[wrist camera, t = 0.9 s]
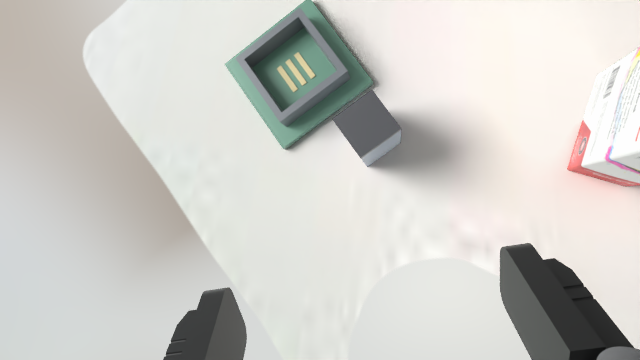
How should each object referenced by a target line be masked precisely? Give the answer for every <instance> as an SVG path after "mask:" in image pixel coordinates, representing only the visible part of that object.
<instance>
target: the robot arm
mask: <svg viewBox="0 0 640 360" xmlns="http://www.w3.org/2000/svg"><path fill="white" fill-rule="evenodd" d="M500 292H501V297H502V301H503V304H504V306H505V309H506V311H507V313H508V314H509V316H510V319H511V320H512V322H513V324H514V326H515V328H516V330H517V332H518V334H519V336H520V338H521V340H522V342H523V343H524V345H525V347H526V349H527V351H528V353H529V355H530V357H531V359H532V360H640V350H639V349H635V348H634V347H633V346H632V345H631V344H630V342H629V341H628V340H627V338H626V337H625V336H624V335H623V333H622V332H621V331H620V330H619V328H618V327H617V326H616V325H615V323H614V322H613V321H612V320H611V318H610V317H609V316H608V315H607V313H606V312H605V311H604V310H603V308H602V307H601V306H600V304H599V303H598V302H597V301H596V299H593V296H592V294H591V293H590V292H589V291H588V289H587V288H586V287H584V286H583V283H582V282H581V281H580V279H579V278H578V277H577V276H576V274H575V273H574V272H573V270H572V269H570V268H568V267H567V266H565V265H564V264H562V263H561V262H559V261H558V260H556V259H554V258H553V259H546V260H543V259H542V258H541V256H540V255H539V254H538V252H537V251H536V250H535V248H534V247H533V246H532V245H531V244H530V243H526V244H519V245H513V246H506V247H502V248H501V250H500ZM246 337H247V336H246V327H245V323H244V320H243V317H242V315H241V313H240V310H239V308H238V305H237V302H236V300H235V297H234V295H233V292H232V290H231V289H230V288H222V289H216V290H209V291H204V292H203V294H202V296H201V299H200V302H199V305H198V308H197V310H192V311H188V313H187V314H186V315H185V316H184V317H183V319H182V320H181V321H180V322H179V324H178V325H177V327H176V329H175V332H174V334H173V337H172V339H171V344H169V347H168V349H167V352H166V357H164V359H163V360H243V357H244V352H245V347H246V339H247V338H246Z"/></svg>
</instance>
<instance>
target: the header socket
mask: <svg viewBox="0 0 640 360" xmlns="http://www.w3.org/2000/svg"><path fill="white" fill-rule="evenodd" d="M225 65H226V67H227V68H228V70H229V71H230V73H231V74H232V75H233V77H234V78H235V80H236V81H237V83H238V84H239V86H240V87H241V88H242V90H243V91H244V93H245V94H246V96H247V97H248V99H249V100H250V102H251V103H252V104H253V106H254V107H255V109H256V110H257V112H258V113H259V115H260V116H261V117H262V119H263V120H264V122H265V123H266V125H267V126H268V128H269V129H270V130H271V132H272V133H273V135H274V136H275V138H276V139H277V141H278V142H279V143H280V145H281V146H282V148H283V149H286V148H288V147H289V146H291V145H292V144H293V143H295V142H296V141H297V140H299V139H300V138H301V137H303V136H304V135H305V134H307V133H308V132H309V131H311V130H312V129H313V128H315V127H316V126H317V125H319V124H320V123H321V122H323V121H324V120H325V119H327V118H328V117H329V116H331V115H332V114H333V113H335V112H336V111H337V110H339V109H340V108H342V107H343V106H344V105H346V104H347V103H348V102H350V101H351V100H352V99H354V98H355V97H356V96H358V95H359V94H360V93H362V92H363V91H364V90H366V89H367V88H368V87H370V86H371V85H372V84H373V81H372V80H371V78H370V77H369V76H368V74H367V73H366V72H365V70H364V69H363V68H362V67H361V65H360V64H359V63H358V61H357V60H356V59H355V57H354V56H353V55H352V53H351V52H350V51H349V49H348V48H347V47H346V45H345V44H344V43H343V41H342V40H341V39H340V38H339V36H338V35H337V34H336V32H335V31H334V30H333V28H332V27H331V26H330V24H329V23H328V22H327V20H326V19H325V18H324V16H323V15H322V14H321V12H320V11H319V10H318V9H317V7H316V6H315V5H314V3H313V2H312V1H311V0H305V1H304V2H303V3H302V4H300V5H299V6H298V7H297V8H295V9H294V10H293V11H291V12H290V13H289V14H288V15H286V16H285V17H284V18H283V19H281V20H280V21H279V22H278V23H276V24H275V25H274V26H273V27H271V28H270V29H269V30H267V31H266V32H265V33H264V34H262V35H261V36H260V37H259V38H257V39H256V40H255V41H254V42H252V43H251V44H250V45H248V46H247V47H246V48H245V49H243V50H242V51H241V52H240V53H238V54H237V55H236V56H235V57H233V58H232V59H231V60H229V61H228V62H227V63H226V64H225Z"/></svg>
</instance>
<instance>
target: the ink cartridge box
mask: <svg viewBox="0 0 640 360" xmlns="http://www.w3.org/2000/svg"><path fill="white" fill-rule="evenodd" d="M567 169H568V170H570V171H574V172H577V173H581V174H584V175H588V176H591V177H595V178H598V179H602V180H605V181H609V182H612V183H615V184H619V185H622V186H635V185H640V47H638V48H637V49H635V50H634V51H632V52H631V53H629V54H628V55H626V56H625V57H623V58H622V59H620V60H619V61H617V62H616V63H614V64H613V65H611V66H610V67H608V68H607V69H605V70H604V71H602V72H601V73H599V74H598V76H597V78H596V81H595V84H594V87H593V90H592V93H591V96H590V99H589V102H588V105H587V108H586V111H585V114H584V118H583V121H582V124H581V127H580V130H579V134H578V136H577V140H576V143H575V146H574V149H573V152H572V156H571V159H570V162H569V166H568V168H567Z"/></svg>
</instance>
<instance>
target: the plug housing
mask: <svg viewBox="0 0 640 360" xmlns="http://www.w3.org/2000/svg"><path fill="white" fill-rule="evenodd" d="M333 121H334V122H335V123H336V125H337V126H338V128H339V129H340V130H341V132H342V133H343V135H344V136H345V137H346V139H347V140H348V141H349V143H350V144H351V146H352V147H353V148H354V150H355V151H356V152H357V154H358V155H359V157H360V158H361V159H362V161H363V162H364V163H365V165H366V166H367V167H368V166H369V165H371V164H372V163H373V162H375V161H376V160H378V159H379V158H380V157H382V156H383V155H385V154H386V153H387V152H389V151H390V150H391V149H393V148H394V147H396V146H397V145H398V144H400V143H401V128H400V126H399V125H398V124H397V122H396V121H395V120H394V118H393V117H392V116H391V114H390V113H389V112H388V110H387V109H386V108H385V106H384V105H383V104H382V102H381V101H380V100H379V98H378V97H377V96H376V94H375V93H374V92H373V90H371V91H369V92H368V93H367V94H365V95H364V96H363V97H361V98H360V99H359V100H357V101H356V102H355V103H353V104H352V105H351V106H349V107H348V108H347V109H345V110H344V111H342V112H341V113H340V114H338V115H337V116H336V117H334V118H333Z"/></svg>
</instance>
